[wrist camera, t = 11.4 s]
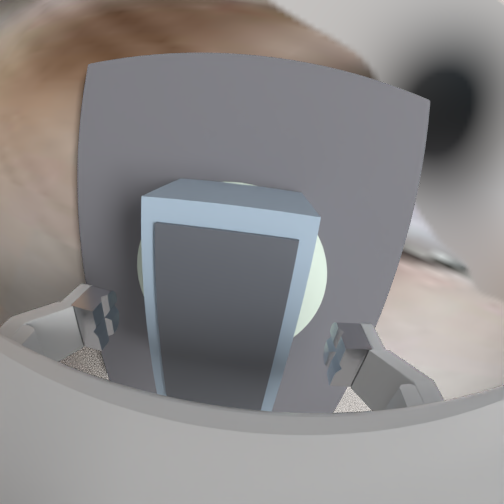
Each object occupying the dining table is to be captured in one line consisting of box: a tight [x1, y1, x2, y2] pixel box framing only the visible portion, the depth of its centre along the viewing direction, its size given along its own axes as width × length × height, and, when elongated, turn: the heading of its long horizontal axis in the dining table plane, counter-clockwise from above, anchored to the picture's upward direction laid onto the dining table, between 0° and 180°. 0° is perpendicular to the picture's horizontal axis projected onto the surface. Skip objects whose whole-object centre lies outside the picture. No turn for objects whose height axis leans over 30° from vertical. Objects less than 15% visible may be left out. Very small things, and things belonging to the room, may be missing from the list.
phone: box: [141, 178, 321, 411], centre depth 11 cm, size 5×9×4 cm, turn 173°
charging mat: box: [78, 53, 430, 413], centre depth 13 cm, size 16×20×1 cm
